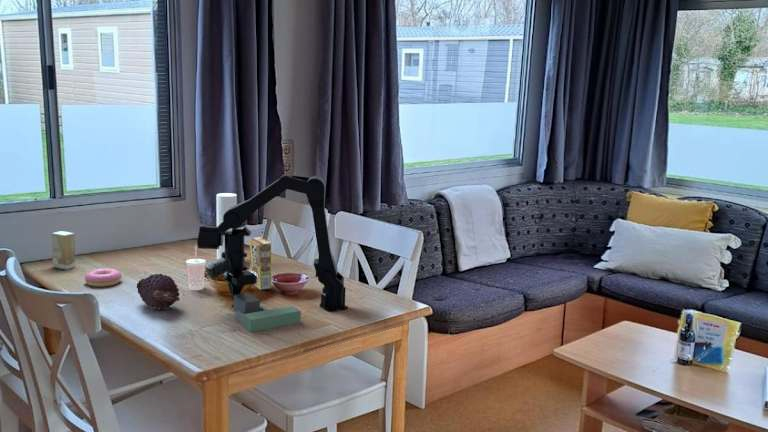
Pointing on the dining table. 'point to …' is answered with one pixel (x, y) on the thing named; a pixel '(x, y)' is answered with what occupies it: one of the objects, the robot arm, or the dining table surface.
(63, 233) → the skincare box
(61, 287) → the dining table surface
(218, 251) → the cylindrical container
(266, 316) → the green and blue-gray block
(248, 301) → the slate gray cuboid
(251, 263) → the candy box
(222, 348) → the dining table surface
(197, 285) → the beverage cup
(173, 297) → the pine cone
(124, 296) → the dining table surface
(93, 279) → the doughnut
